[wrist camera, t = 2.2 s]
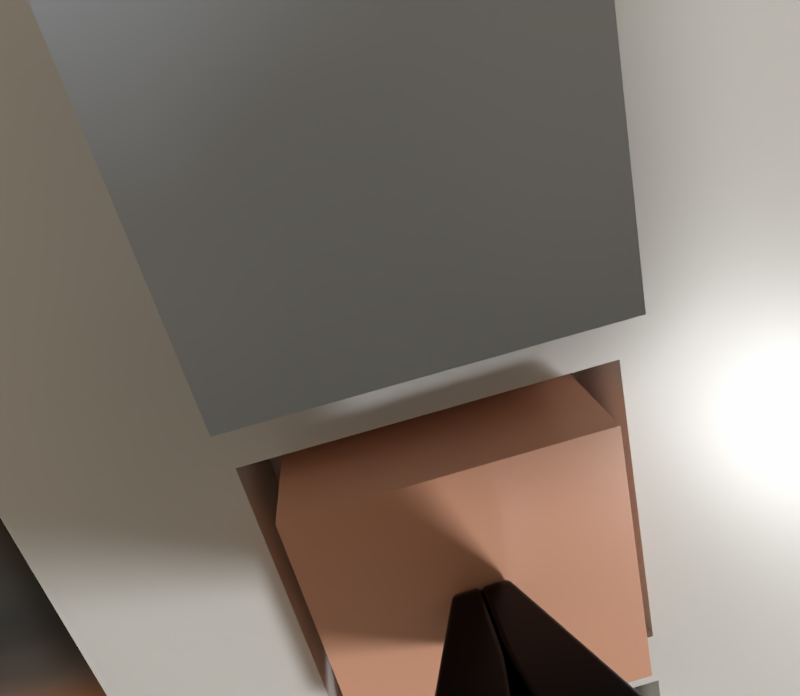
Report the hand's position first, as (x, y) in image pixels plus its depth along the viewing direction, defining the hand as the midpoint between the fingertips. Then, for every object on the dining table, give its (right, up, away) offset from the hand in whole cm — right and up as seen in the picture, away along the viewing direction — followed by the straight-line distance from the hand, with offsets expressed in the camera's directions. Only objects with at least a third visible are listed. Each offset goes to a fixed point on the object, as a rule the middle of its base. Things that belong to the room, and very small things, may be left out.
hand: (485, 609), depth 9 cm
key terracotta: (0, +1, +2) cm, 3 cm away
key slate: (-2, +6, -1) cm, 7 cm away
